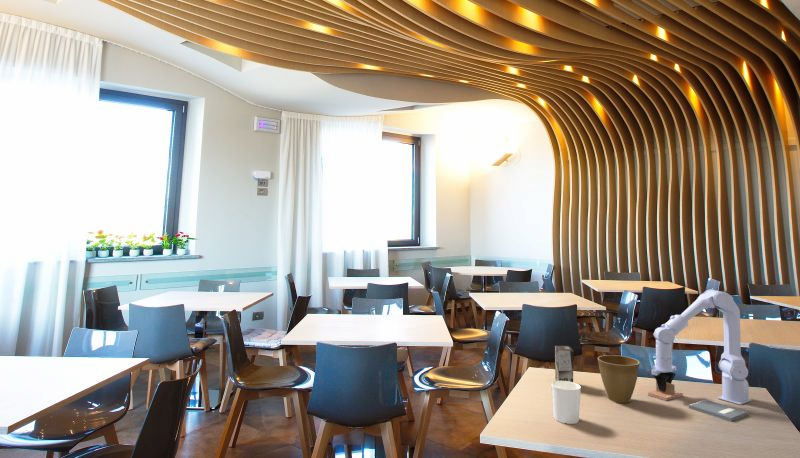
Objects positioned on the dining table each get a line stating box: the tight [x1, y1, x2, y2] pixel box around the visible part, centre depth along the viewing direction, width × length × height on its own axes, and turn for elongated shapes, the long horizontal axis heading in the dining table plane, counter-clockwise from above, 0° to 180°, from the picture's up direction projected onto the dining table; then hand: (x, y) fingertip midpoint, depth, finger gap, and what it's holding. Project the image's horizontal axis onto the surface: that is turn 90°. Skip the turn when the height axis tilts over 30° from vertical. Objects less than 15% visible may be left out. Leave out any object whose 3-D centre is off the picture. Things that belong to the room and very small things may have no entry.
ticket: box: [688, 399, 748, 422], centre depth 162 cm, size 12×14×1 cm
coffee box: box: [554, 345, 574, 383], centre depth 192 cm, size 9×6×16 cm
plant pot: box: [597, 354, 640, 404], centre depth 173 cm, size 15×15×16 cm
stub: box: [647, 380, 684, 401], centre depth 179 cm, size 12×7×5 cm, turn 119°
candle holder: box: [550, 381, 582, 425], centre depth 154 cm, size 10×10×12 cm
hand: (664, 390), depth 179 cm, fingers closed on stub, 2 cm apart
